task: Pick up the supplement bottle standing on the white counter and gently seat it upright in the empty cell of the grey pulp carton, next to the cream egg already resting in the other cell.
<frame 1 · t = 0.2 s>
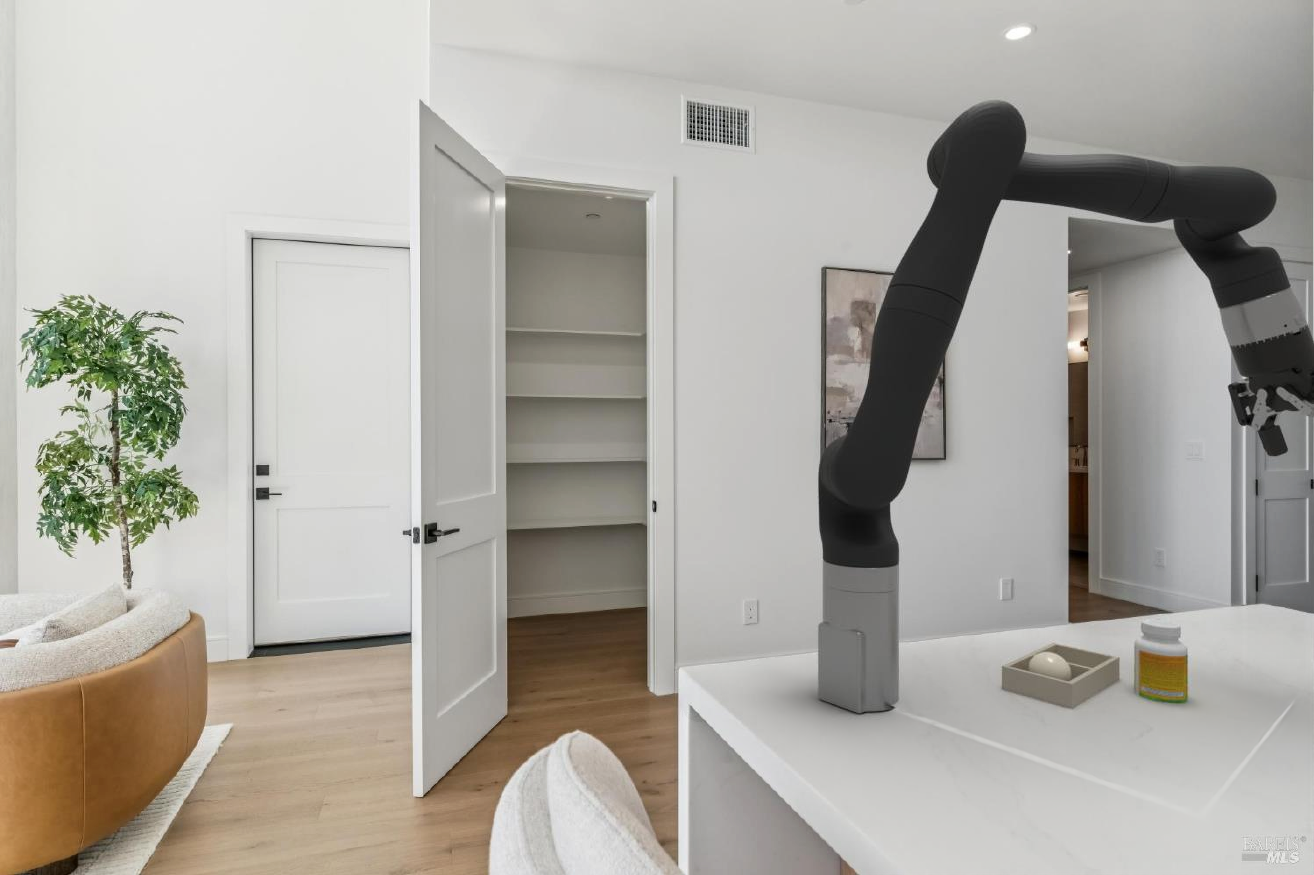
hand: (1310, 455, 85), 31 cm above the kitchen island, tool tilted 20°, fingers open, 8 cm apart
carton: (1061, 688, 90), on the kitchen island
egg: (1049, 690, 87), point 1 cm above the kitchen island, touching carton
supplement bottle: (1160, 702, 85), on the kitchen island
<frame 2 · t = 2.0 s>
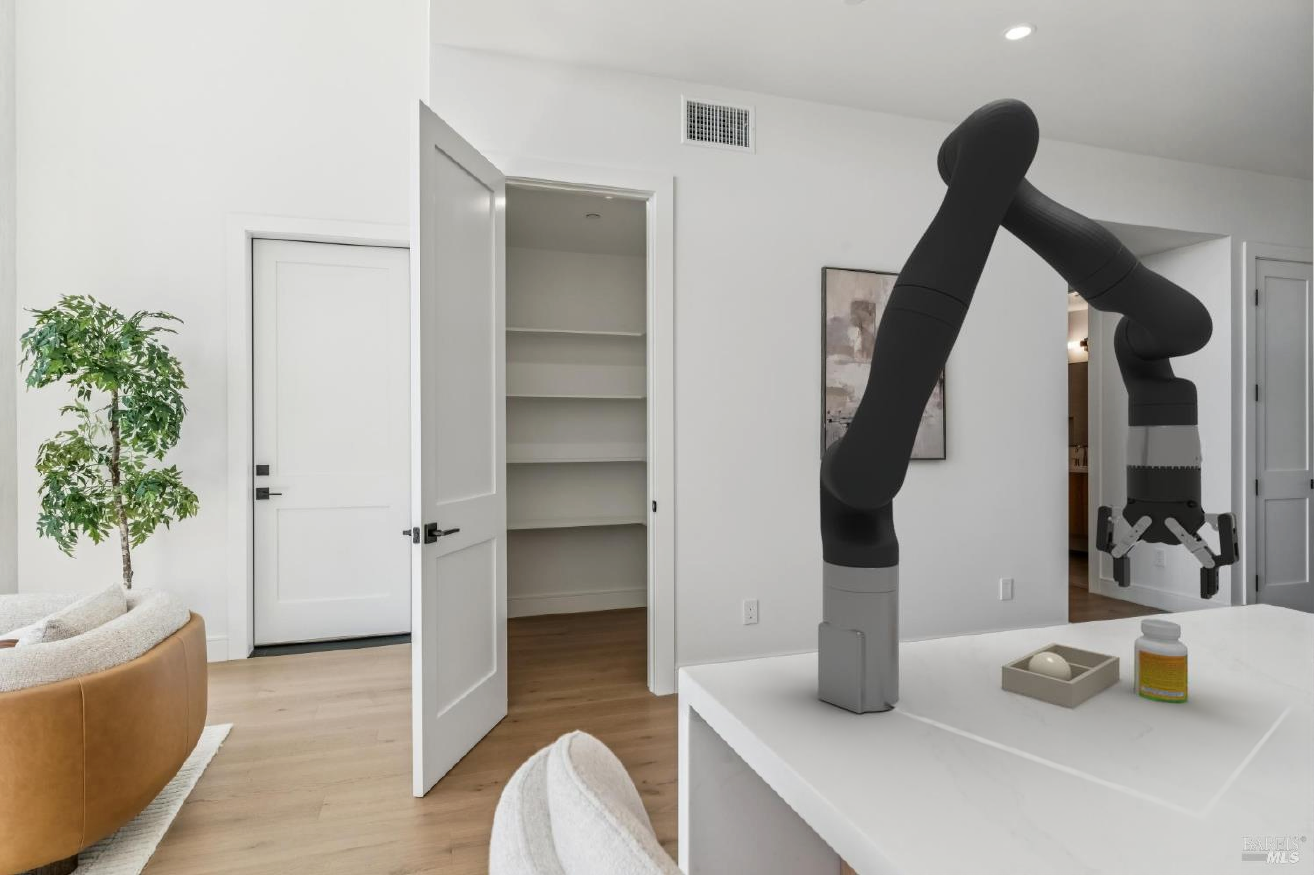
hand: (1164, 592, 86), 14 cm above the kitchen island, tool pointing down, fingers open, 8 cm apart
nothing on the kitchen island moved.
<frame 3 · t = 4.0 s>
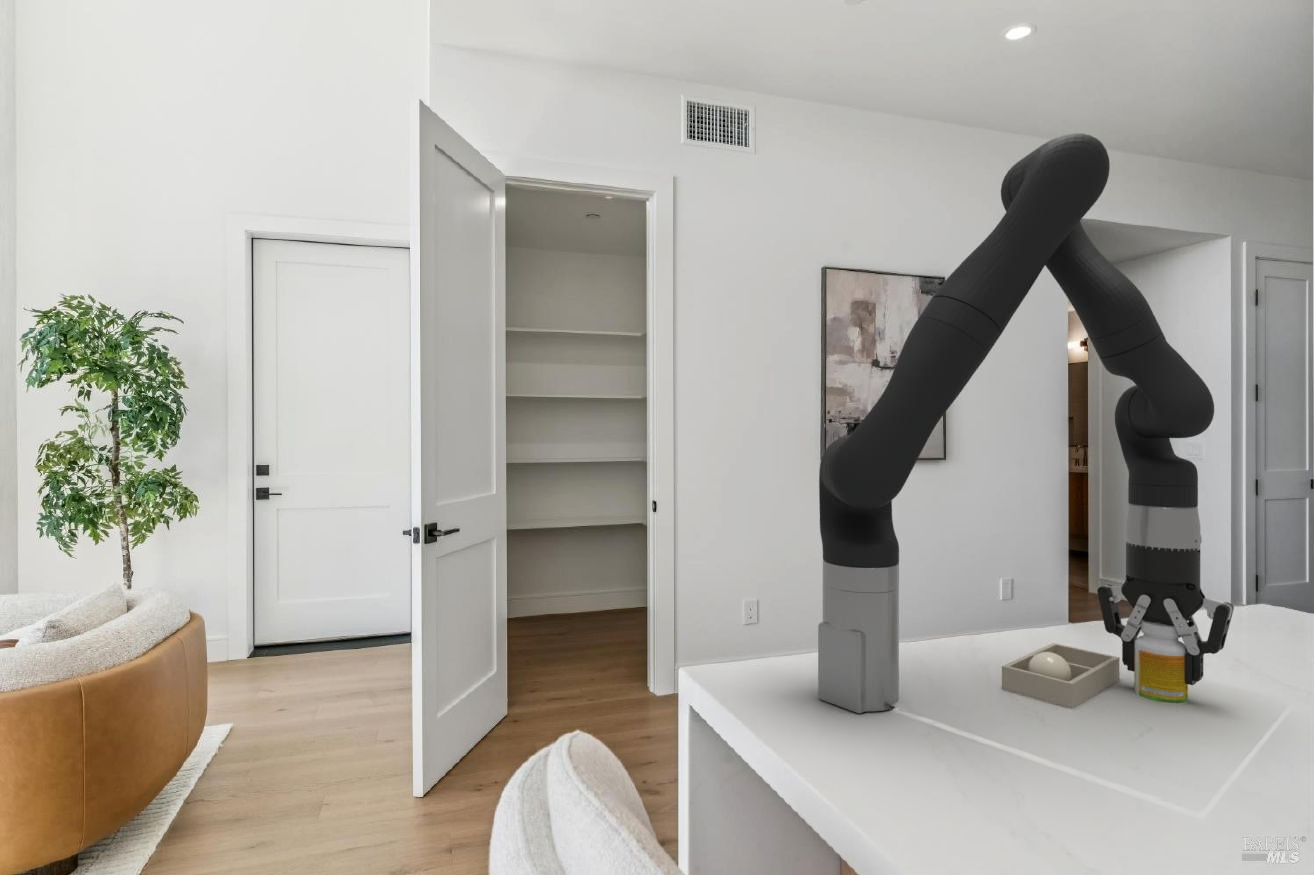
hand: (1161, 675, 86), 3 cm above the kitchen island, tool pointing down, fingers closed on supplement bottle, 5 cm apart
supplement bottle: (1160, 702, 85), on the kitchen island, touching gripper
everything else where it was.
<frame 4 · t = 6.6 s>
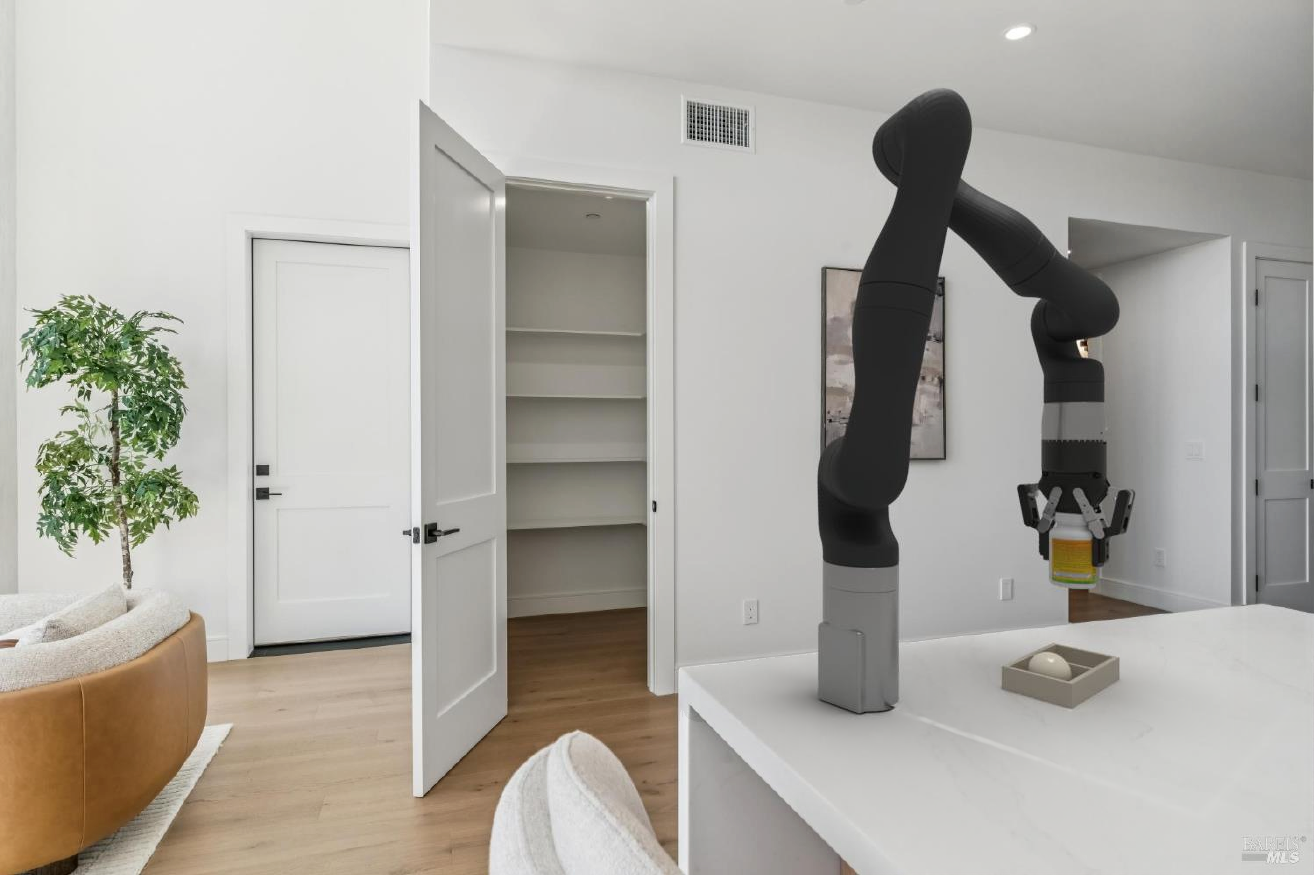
hand: (1073, 562, 92), 16 cm above the kitchen island, tool pointing down, fingers closed on supplement bottle, 5 cm apart
supplement bottle: (1072, 586, 92), point 13 cm above the kitchen island, touching gripper
everything else where it was.
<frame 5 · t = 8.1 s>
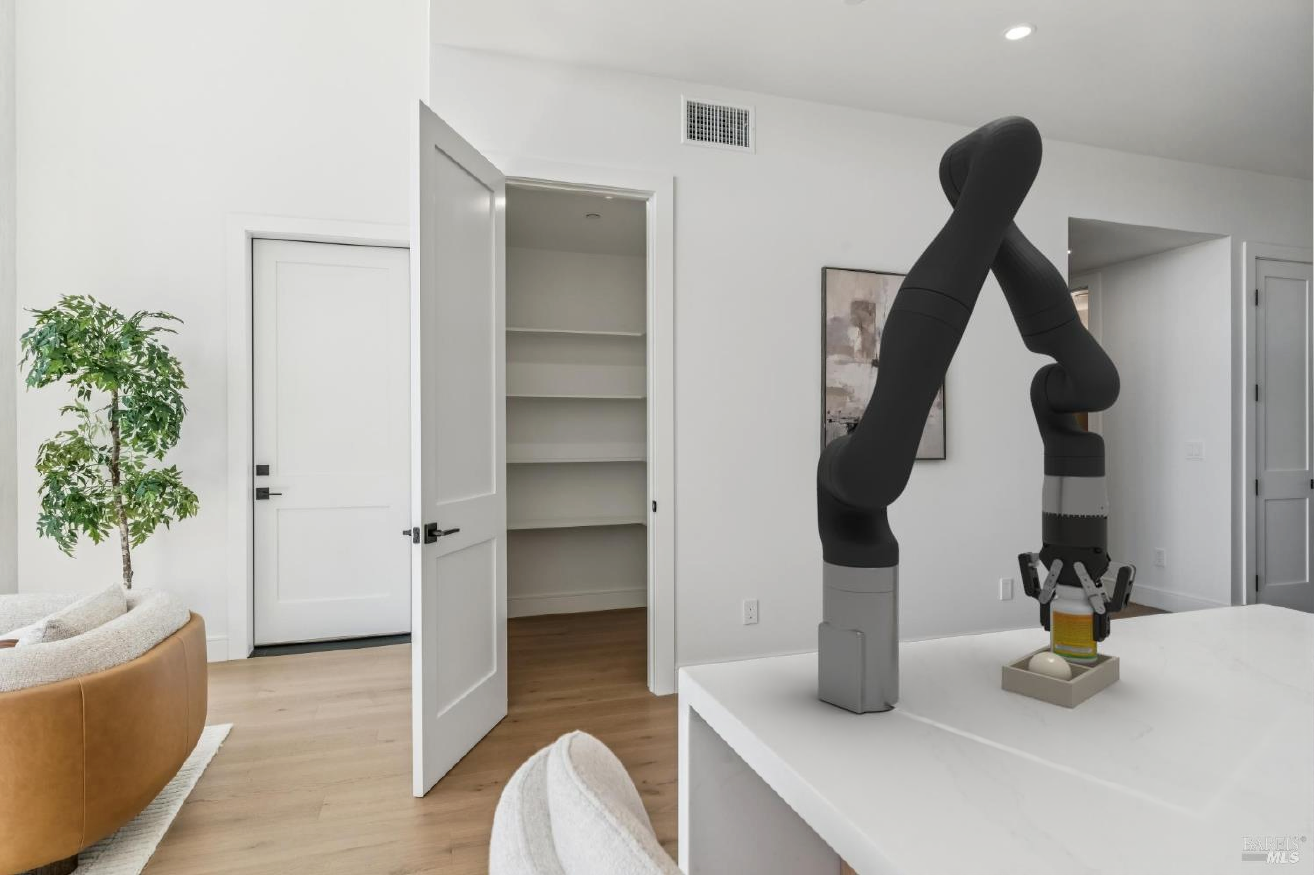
hand: (1074, 634, 92), 6 cm above the kitchen island, tool pointing down, fingers closed on supplement bottle, 5 cm apart
supplement bottle: (1073, 659, 92), point 3 cm above the kitchen island, touching gripper
everything else where it was.
when the fingers open (5 cm above the kitchen island, at t = 9.3 s): supplement bottle drops 1 cm, resting on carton.
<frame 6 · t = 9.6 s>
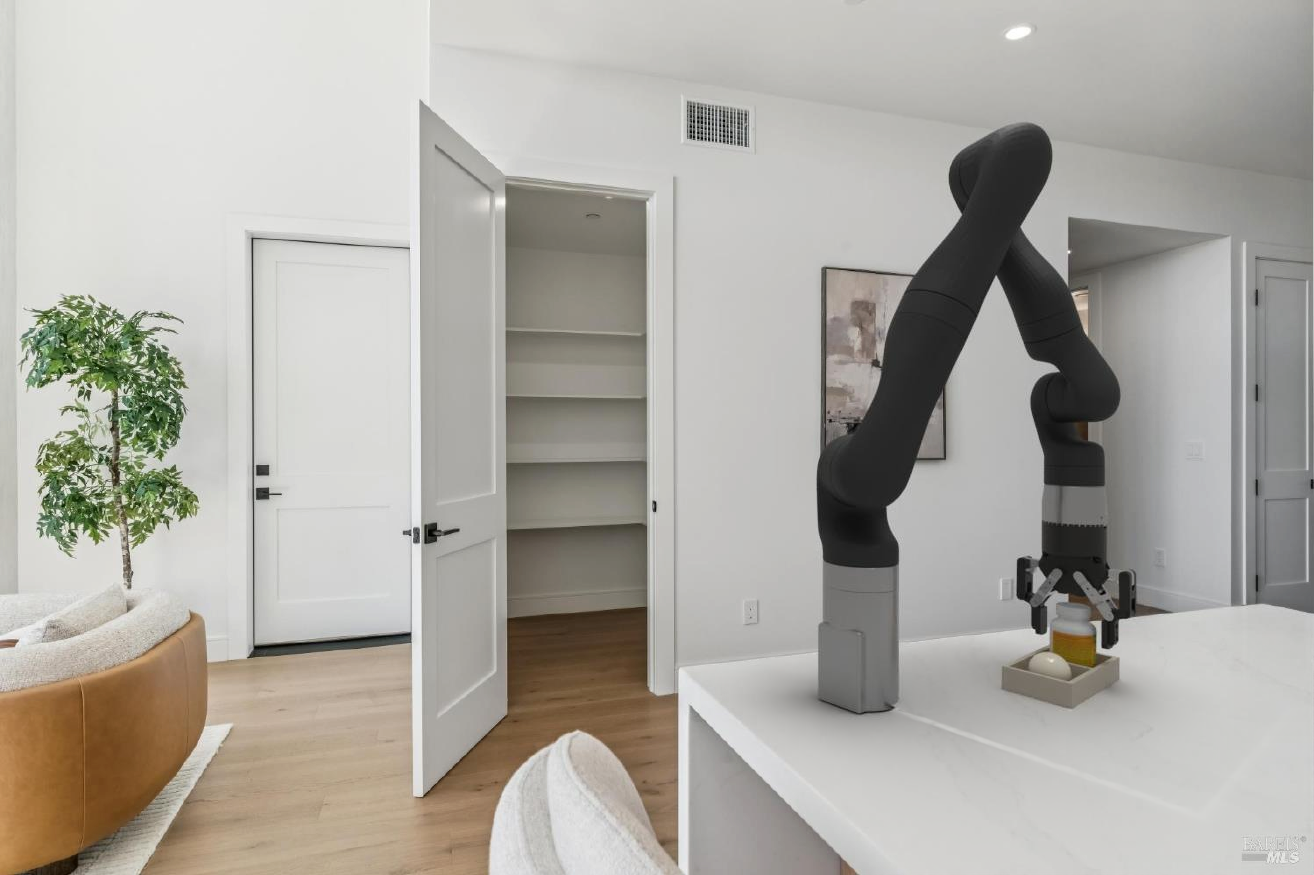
hand: (1073, 640, 92), 6 cm above the kitchen island, tool pointing down, fingers open, 7 cm apart
supplement bottle: (1072, 679, 92), resting on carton
everything else where it was.
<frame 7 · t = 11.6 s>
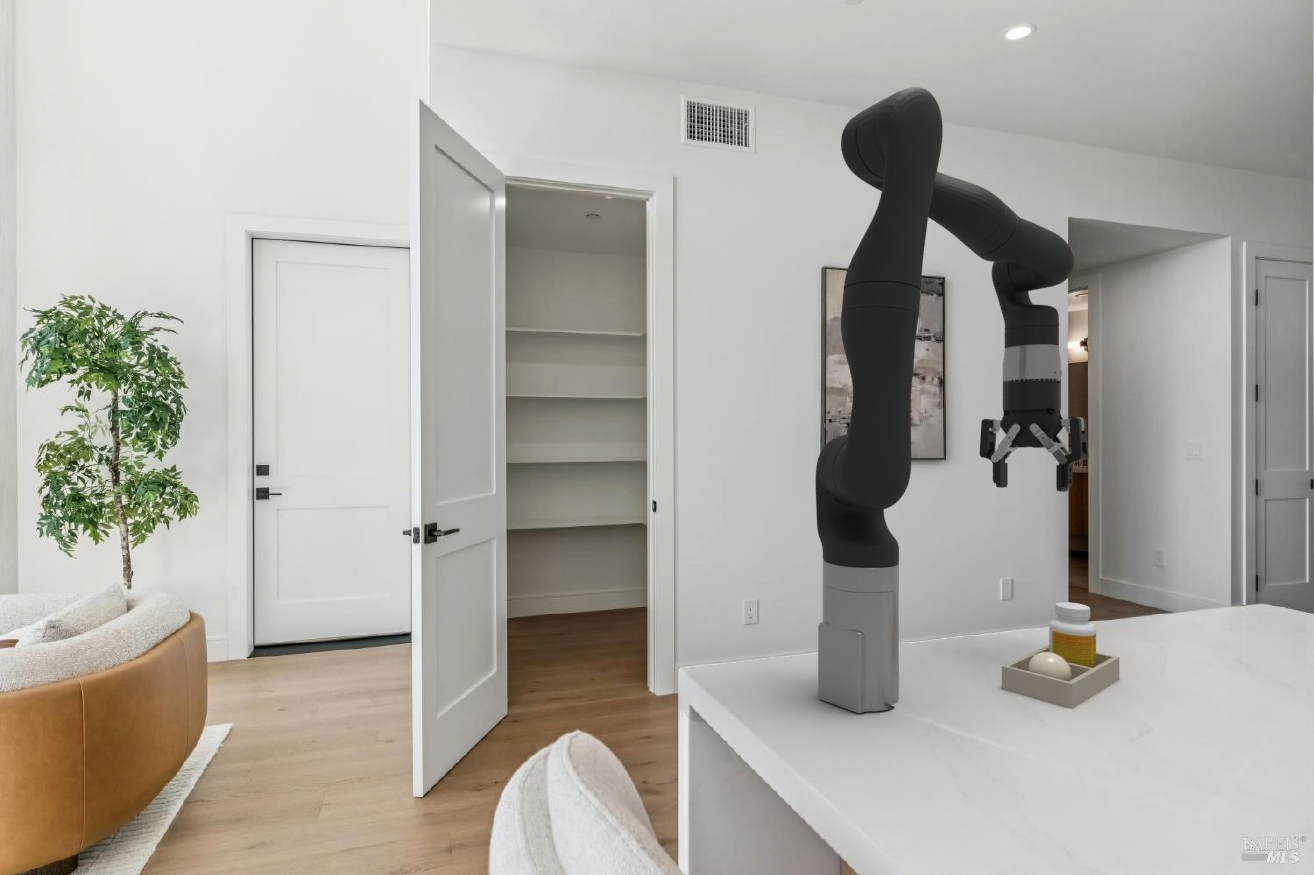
hand: (1031, 489, 100), 25 cm above the kitchen island, tool pointing down, fingers open, 8 cm apart
nothing on the kitchen island moved.
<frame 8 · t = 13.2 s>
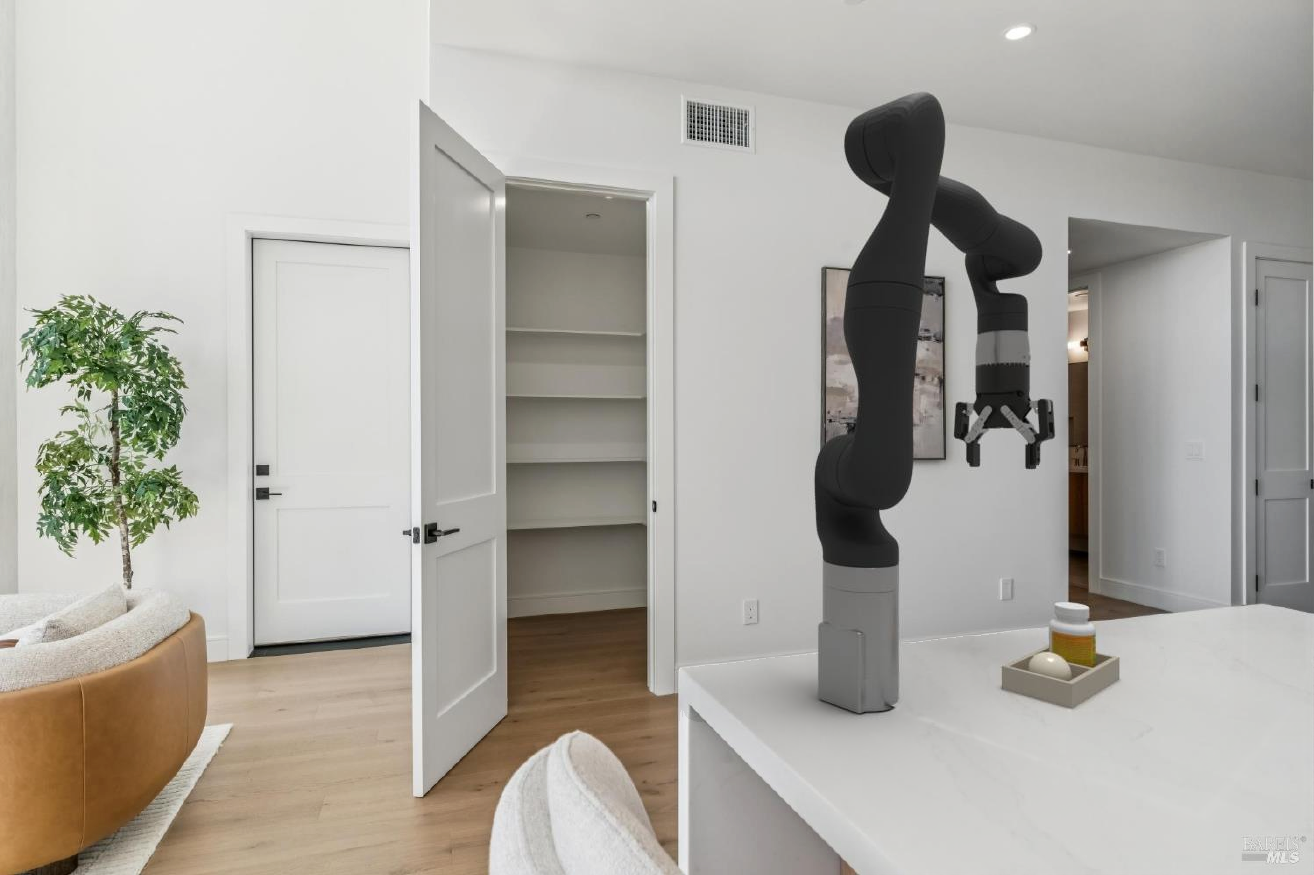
hand: (1002, 467, 106), 28 cm above the kitchen island, tool pointing down, fingers open, 8 cm apart
nothing on the kitchen island moved.
at the end: supplement bottle 0.4 cm from the target spot on the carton, point 0.4 cm above the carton's base; supplement bottle tilted 0°; the gripper is holding nothing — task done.
